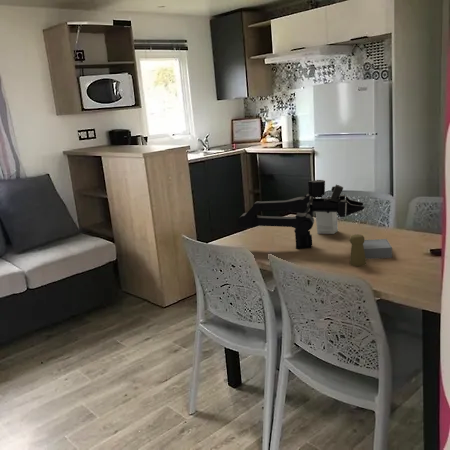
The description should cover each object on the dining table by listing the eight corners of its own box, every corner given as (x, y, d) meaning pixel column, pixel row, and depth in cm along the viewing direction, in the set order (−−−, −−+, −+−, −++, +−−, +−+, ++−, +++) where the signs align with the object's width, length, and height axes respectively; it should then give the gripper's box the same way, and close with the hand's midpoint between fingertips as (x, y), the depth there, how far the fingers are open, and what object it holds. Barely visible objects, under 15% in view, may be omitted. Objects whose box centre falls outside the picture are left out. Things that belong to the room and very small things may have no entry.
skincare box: (338, 231, 231) (336, 198, 227) (333, 234, 225) (331, 201, 222) (321, 230, 235) (319, 198, 232) (316, 233, 230) (314, 201, 226)
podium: (359, 259, 188) (358, 249, 187) (356, 250, 200) (355, 240, 199) (392, 257, 186) (391, 247, 185) (386, 248, 198) (386, 238, 197)
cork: (356, 267, 180) (355, 238, 177) (346, 263, 185) (345, 235, 183) (370, 263, 182) (369, 235, 180) (359, 259, 187) (358, 231, 185)
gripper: (324, 189, 195) (365, 189, 191) (325, 183, 213) (363, 183, 209) (323, 216, 197) (364, 217, 194) (325, 208, 215) (362, 209, 211)
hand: (363, 205), depth 202 cm, fingers open, 9 cm apart
